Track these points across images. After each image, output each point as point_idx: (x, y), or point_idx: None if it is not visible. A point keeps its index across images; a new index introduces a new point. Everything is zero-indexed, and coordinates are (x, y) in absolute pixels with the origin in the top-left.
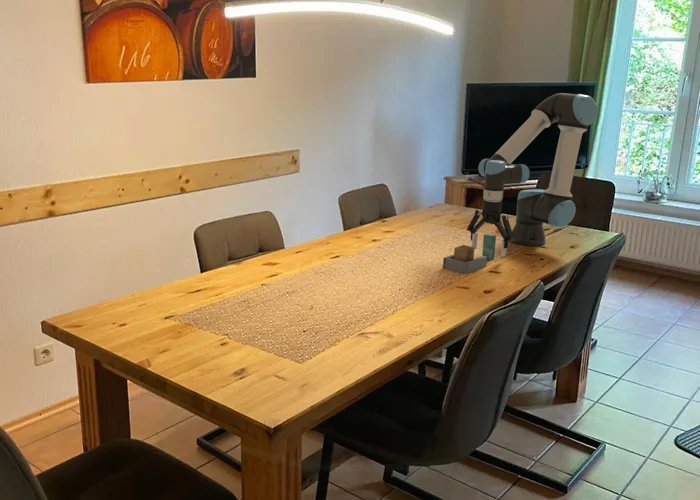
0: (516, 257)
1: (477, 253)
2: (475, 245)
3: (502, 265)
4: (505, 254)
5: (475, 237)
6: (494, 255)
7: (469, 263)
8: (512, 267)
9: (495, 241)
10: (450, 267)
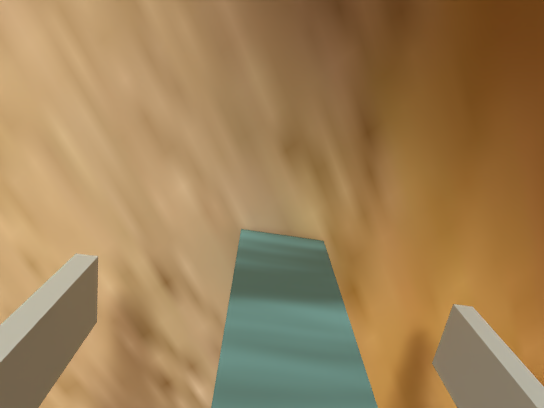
0: (504, 32)
1: (101, 157)
2: (80, 305)
3: None
4: (476, 319)
5: (13, 401)
6: (327, 256)
7: None
8: (526, 351)
9: (362, 369)
10: None
